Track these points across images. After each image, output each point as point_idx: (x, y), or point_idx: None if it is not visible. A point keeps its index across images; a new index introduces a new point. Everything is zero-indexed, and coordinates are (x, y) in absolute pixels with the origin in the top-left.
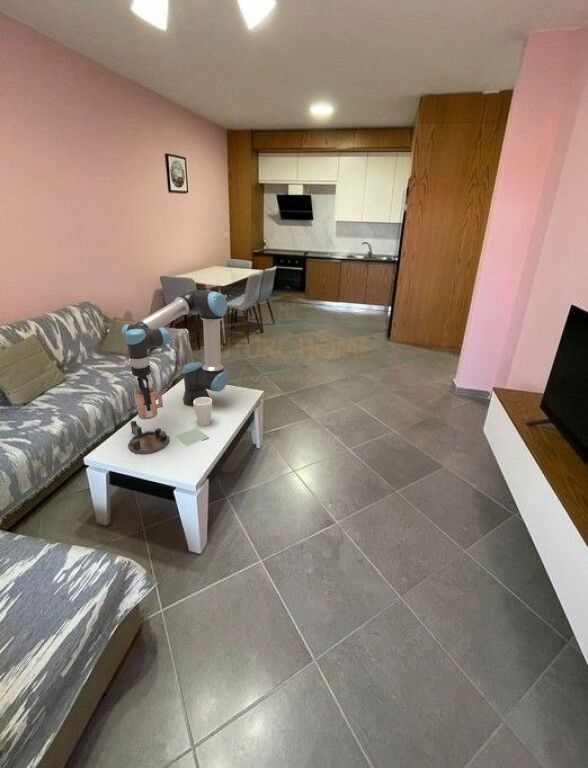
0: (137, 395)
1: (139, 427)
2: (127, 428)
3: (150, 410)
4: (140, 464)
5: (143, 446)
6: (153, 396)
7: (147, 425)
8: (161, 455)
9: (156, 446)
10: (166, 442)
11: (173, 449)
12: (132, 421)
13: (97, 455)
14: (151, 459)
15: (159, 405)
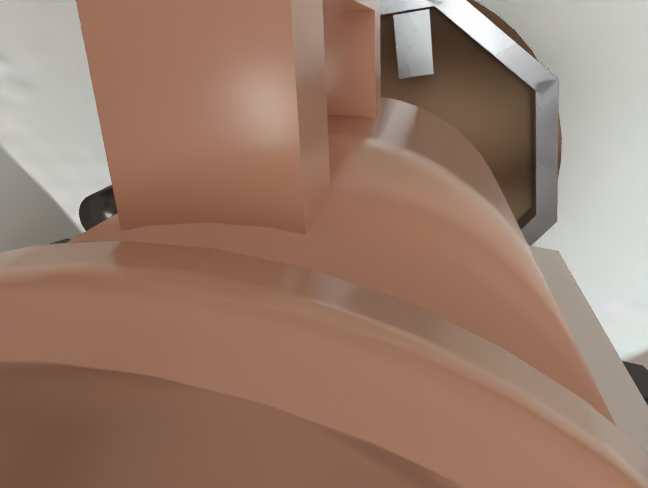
0: None
1: None
2: (61, 201)
3: (642, 377)
4: (605, 314)
5: None
6: (608, 415)
7: (78, 56)
8: (620, 149)
9: (475, 135)
10: (524, 50)
11: (618, 19)
12: (88, 220)
13: None
14: (609, 233)
15: (376, 33)
